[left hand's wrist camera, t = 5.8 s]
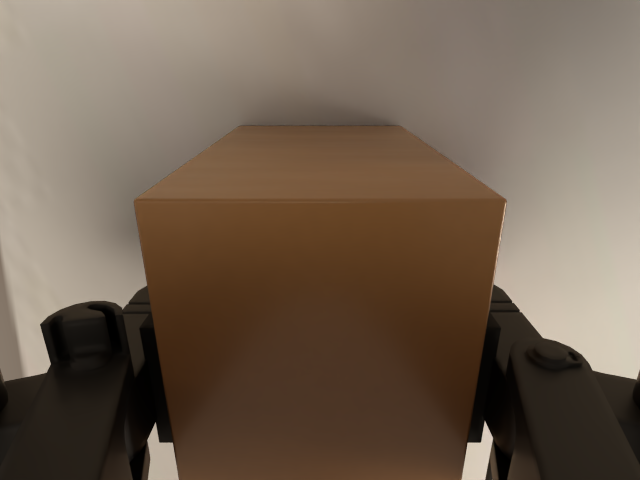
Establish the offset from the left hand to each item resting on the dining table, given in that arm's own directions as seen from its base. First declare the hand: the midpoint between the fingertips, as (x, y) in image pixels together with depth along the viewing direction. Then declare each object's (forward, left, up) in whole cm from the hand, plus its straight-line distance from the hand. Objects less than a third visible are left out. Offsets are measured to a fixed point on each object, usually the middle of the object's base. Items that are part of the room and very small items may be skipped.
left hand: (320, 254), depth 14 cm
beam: (+29, 0, -1) cm, 29 cm away
